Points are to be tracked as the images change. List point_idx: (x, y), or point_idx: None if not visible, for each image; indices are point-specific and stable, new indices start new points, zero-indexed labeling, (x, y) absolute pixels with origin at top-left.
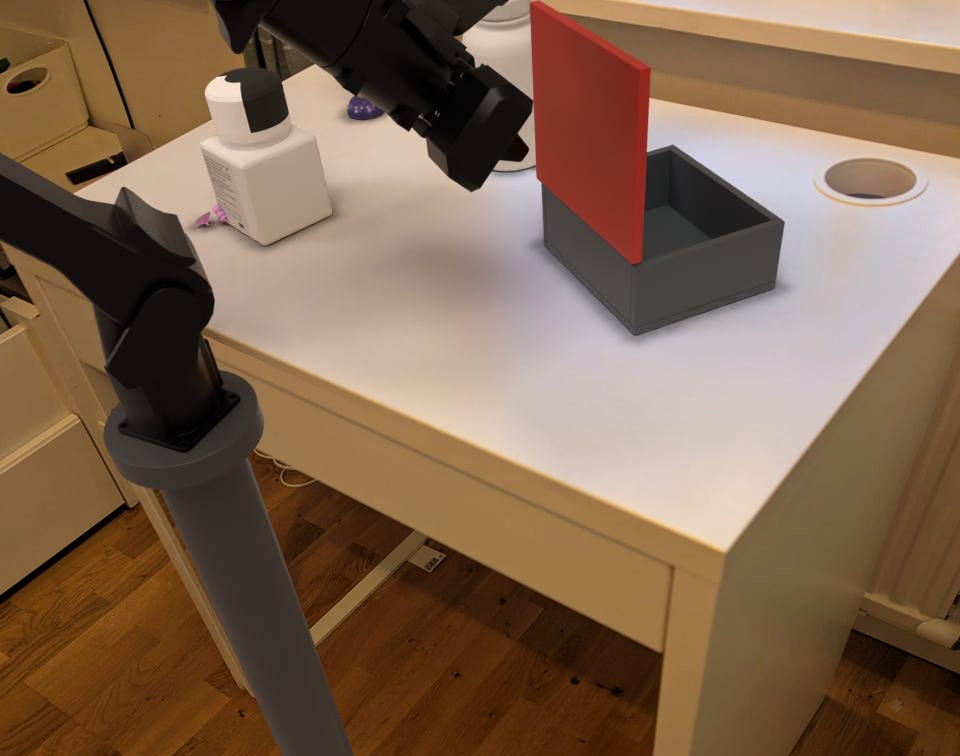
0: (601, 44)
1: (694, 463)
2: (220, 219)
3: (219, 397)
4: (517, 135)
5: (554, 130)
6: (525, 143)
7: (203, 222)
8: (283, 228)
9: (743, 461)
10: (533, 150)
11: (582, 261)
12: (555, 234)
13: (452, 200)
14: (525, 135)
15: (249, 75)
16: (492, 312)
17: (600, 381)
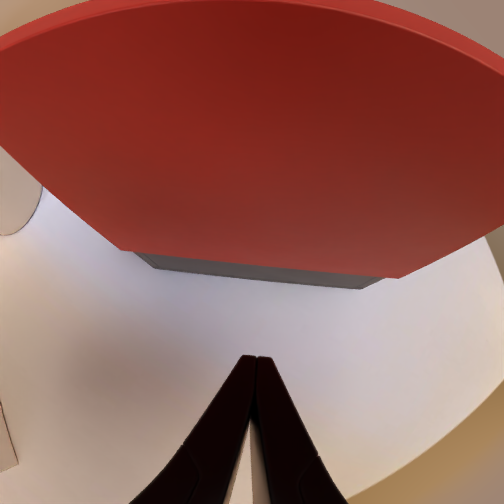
0: (476, 54)
1: (487, 336)
2: None
3: None
4: (293, 406)
5: (152, 218)
6: (277, 372)
7: None
8: (7, 446)
9: (495, 306)
10: (33, 186)
11: (250, 273)
12: (177, 265)
13: (29, 291)
14: (21, 186)
15: None
16: None
17: (397, 353)
